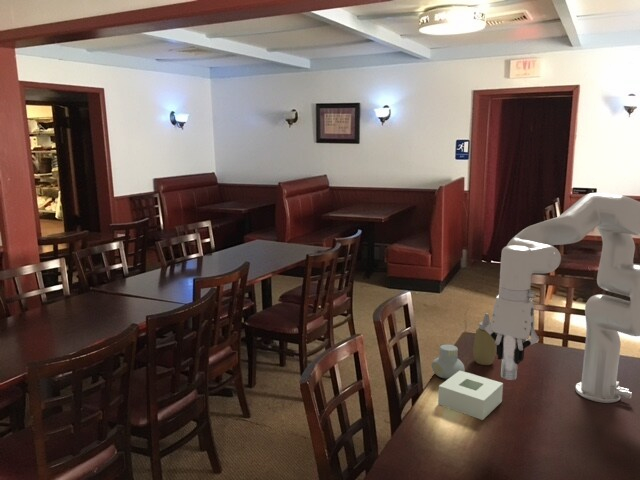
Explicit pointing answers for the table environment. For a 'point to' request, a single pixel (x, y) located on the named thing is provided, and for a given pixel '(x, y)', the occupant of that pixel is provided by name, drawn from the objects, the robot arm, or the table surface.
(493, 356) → the squeeze bottle
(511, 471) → the table surface
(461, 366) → the air freshener
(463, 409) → the socket block
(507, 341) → the steel peg
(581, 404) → the table surface
